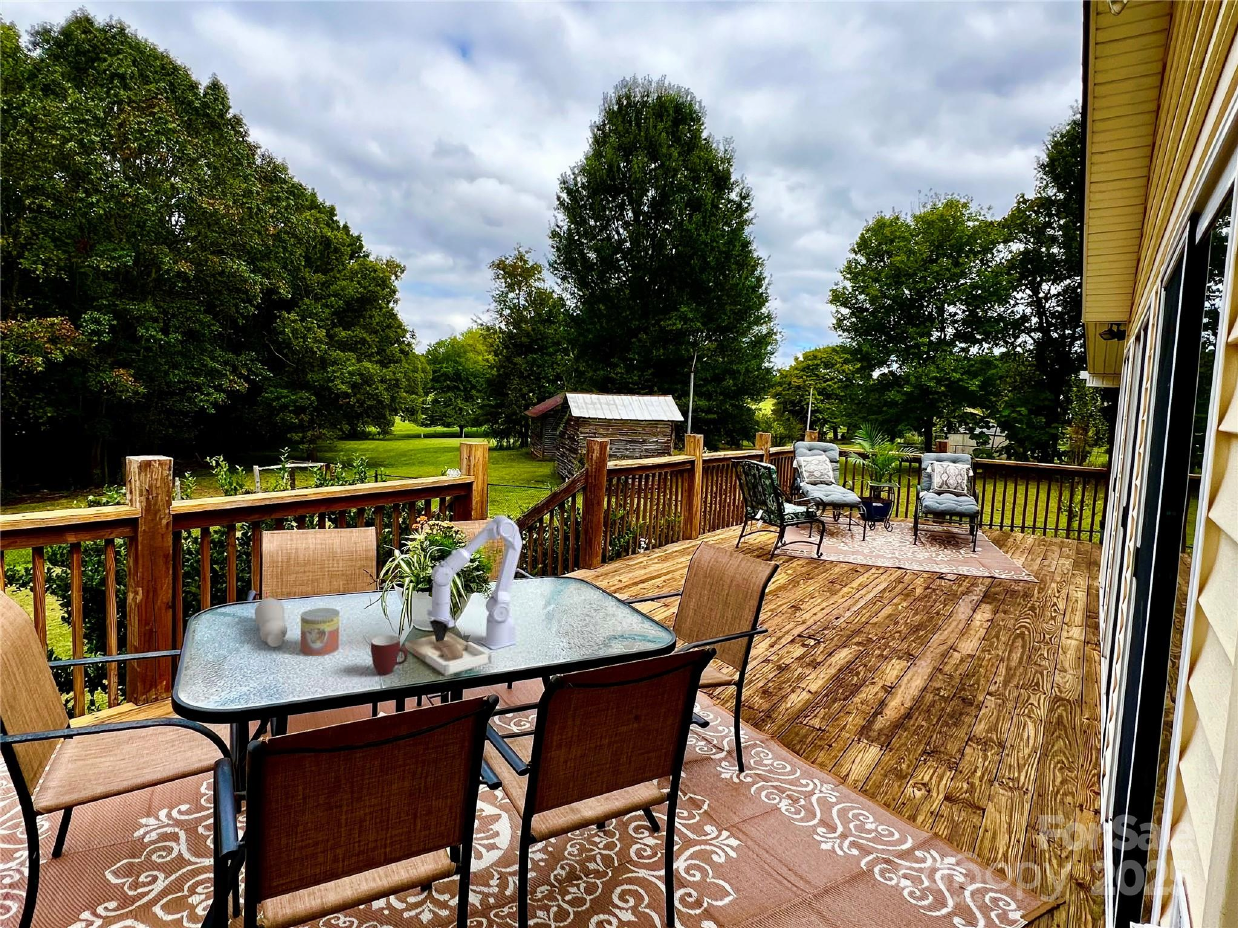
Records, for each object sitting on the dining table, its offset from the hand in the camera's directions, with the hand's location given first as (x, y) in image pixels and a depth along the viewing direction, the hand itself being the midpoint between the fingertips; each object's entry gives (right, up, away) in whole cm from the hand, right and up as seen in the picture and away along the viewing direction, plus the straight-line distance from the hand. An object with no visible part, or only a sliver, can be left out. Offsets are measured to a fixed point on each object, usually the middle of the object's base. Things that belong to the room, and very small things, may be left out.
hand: (439, 641), depth 208 cm
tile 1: (+2, -1, -2) cm, 3 cm away
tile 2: (+5, -3, -6) cm, 8 cm away
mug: (-10, -4, -18) cm, 21 cm away
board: (-1, -3, +1) cm, 3 cm away
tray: (+8, -4, -8) cm, 13 cm away
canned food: (-38, -1, -5) cm, 38 cm away
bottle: (-59, +1, +5) cm, 59 cm away
